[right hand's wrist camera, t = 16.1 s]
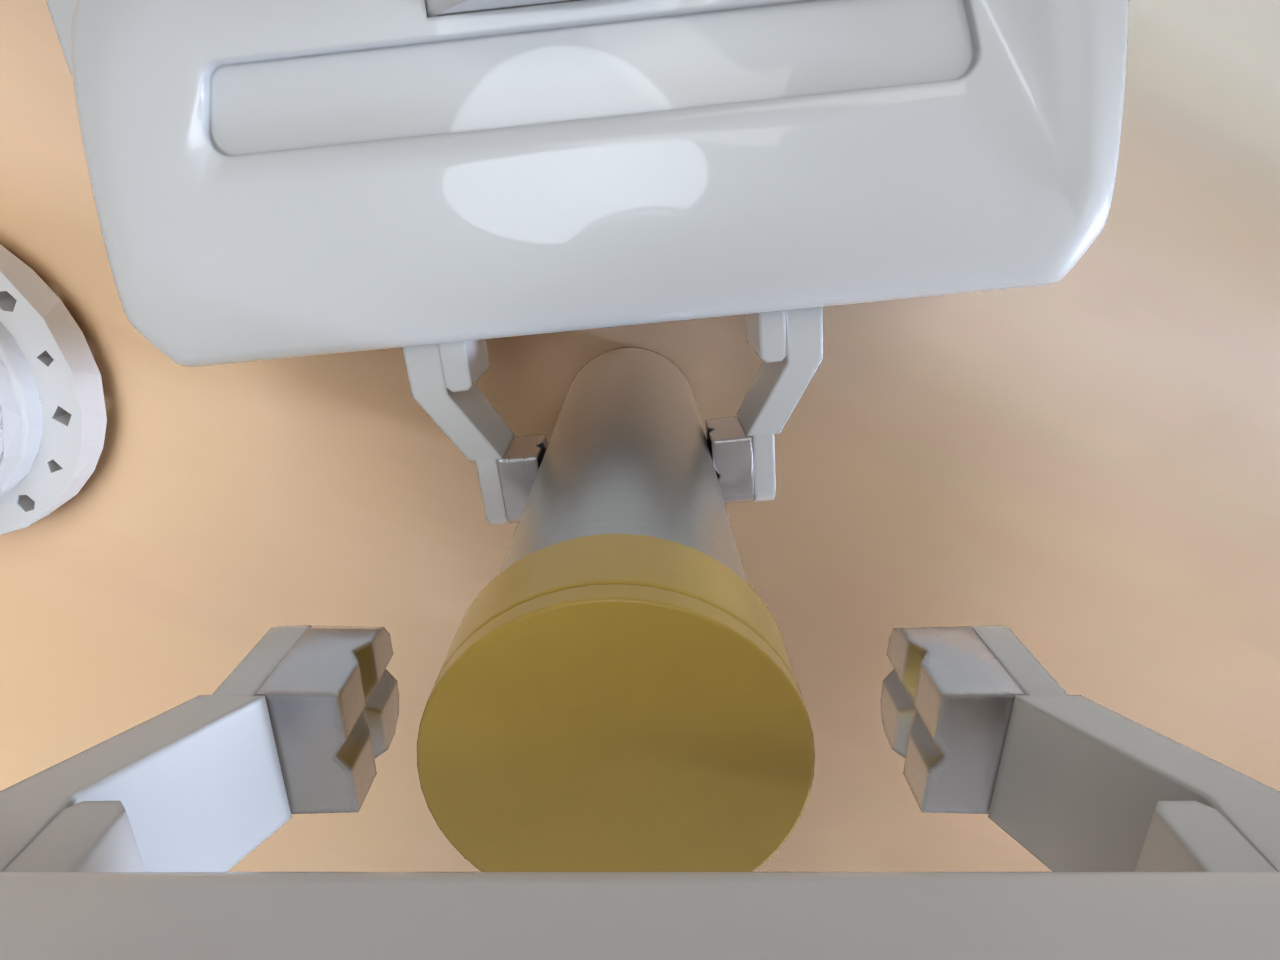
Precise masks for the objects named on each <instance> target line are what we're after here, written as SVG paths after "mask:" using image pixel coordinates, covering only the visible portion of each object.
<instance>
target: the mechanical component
mask: <svg viewBox="0 0 1280 960" xmlns="http://www.w3.org/2000/svg"><path fill="white" fill-rule="evenodd" d="M106 425H107V416H106V408H105V401H104V393H103V386H102V378H101V374H100V372H99V369H98V367H97V365H96V362H95V360H94V358H93V355H92V353H91V351H90V348H89V346H88V344H87V341H86V339H85V337H84V334H83V332H82V331H81V329H80V328H79V326H78V325H77V323H76V322H75V320H74V319H73V317H72V316H71V314H70V313H69V311H68V310H67V308H66V307H65V305H64V304H63V302H62V301H61V300H60V298H59V297H58V296H57V295H56V294H55V293H54V292H53V291H52V290H51V289H50V288H49V287H48V286H47V284H46V283H45V282H44V281H43V280H42V279H41V278H40V277H39V276H38V275H37V274H36V273H35V271H34V270H33V269H31V268H30V267H29V266H28V265H26V264H25V263H24V262H22V261H21V260H20V259H19V258H17V257H16V256H15V255H13V254H12V253H11V252H10V251H8V250H7V249H6V248H4V247H3V246H2V245H1V244H0V535H1V534H4V533H8V532H11V531H14V530H18V529H21V528H24V527H27V526H29V525H31V524H33V523H35V522H36V521H38V520H40V519H42V518H43V517H45V516H47V515H49V514H50V513H52V512H53V511H54V510H56V509H57V508H59V507H60V506H61V505H63V504H64V503H66V502H67V501H68V500H70V499H71V498H72V497H74V496H75V495H77V494H78V492H79V491H80V490H81V488H82V487H83V486H84V484H85V483H86V482H87V480H88V479H89V478H90V476H91V475H92V473H93V472H94V470H95V468H96V465H97V463H98V460H99V457H100V455H101V452H102V450H103V447H104V439H105V432H106Z"/></svg>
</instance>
